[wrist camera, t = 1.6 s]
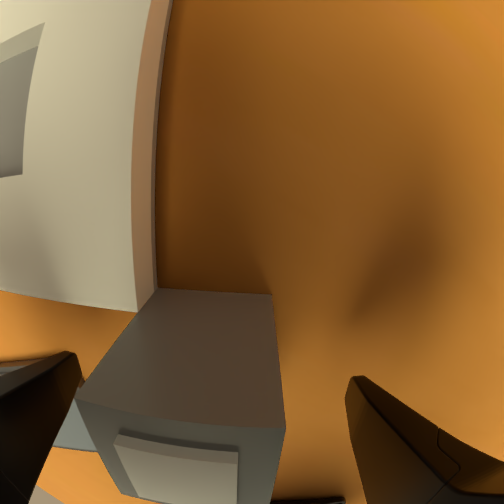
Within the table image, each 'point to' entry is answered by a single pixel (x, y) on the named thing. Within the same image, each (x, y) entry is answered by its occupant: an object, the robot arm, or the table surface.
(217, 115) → the table surface
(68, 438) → the phone
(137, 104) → the outlet plate
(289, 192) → the table surface
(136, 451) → the block
